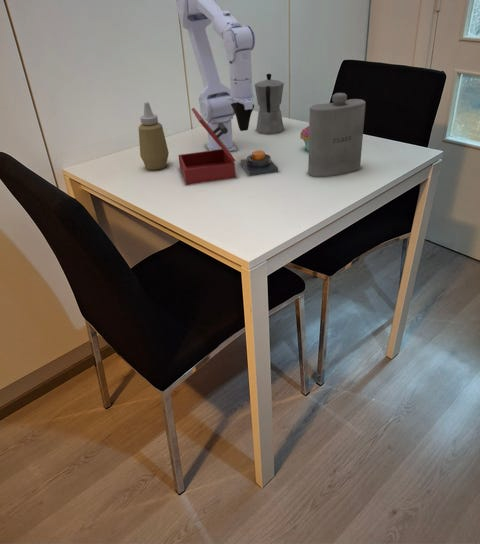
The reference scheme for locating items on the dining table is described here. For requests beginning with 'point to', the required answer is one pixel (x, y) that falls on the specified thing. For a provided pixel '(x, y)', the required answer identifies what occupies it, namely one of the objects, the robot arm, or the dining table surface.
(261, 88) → the coffeepot
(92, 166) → the dining table surface
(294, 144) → the dining table surface
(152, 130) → the squeeze bottle
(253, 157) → the power button
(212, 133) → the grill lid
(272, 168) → the switch box
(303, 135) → the cupcake
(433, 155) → the dining table surface
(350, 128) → the flask
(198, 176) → the maroon rectangular box
